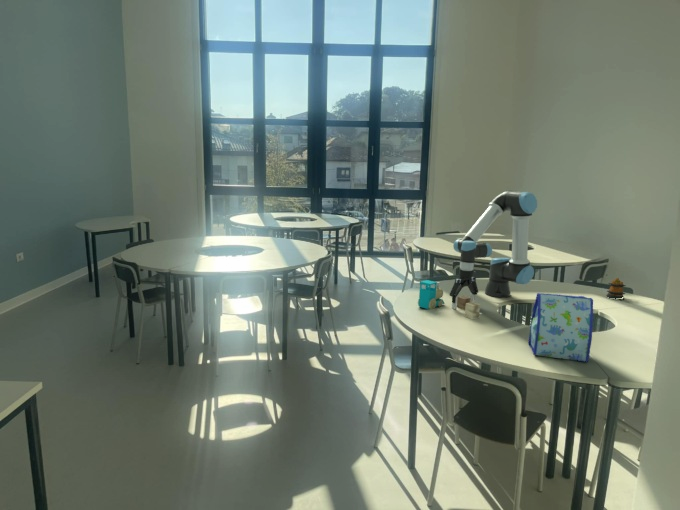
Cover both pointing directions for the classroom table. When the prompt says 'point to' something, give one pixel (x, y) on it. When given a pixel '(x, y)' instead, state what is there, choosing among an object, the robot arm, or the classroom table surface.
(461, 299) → the walnut block
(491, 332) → the classroom table surface
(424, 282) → the toy train
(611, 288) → the orange tiered tower
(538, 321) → the lunch bag
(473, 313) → the maple block
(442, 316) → the classroom table surface
